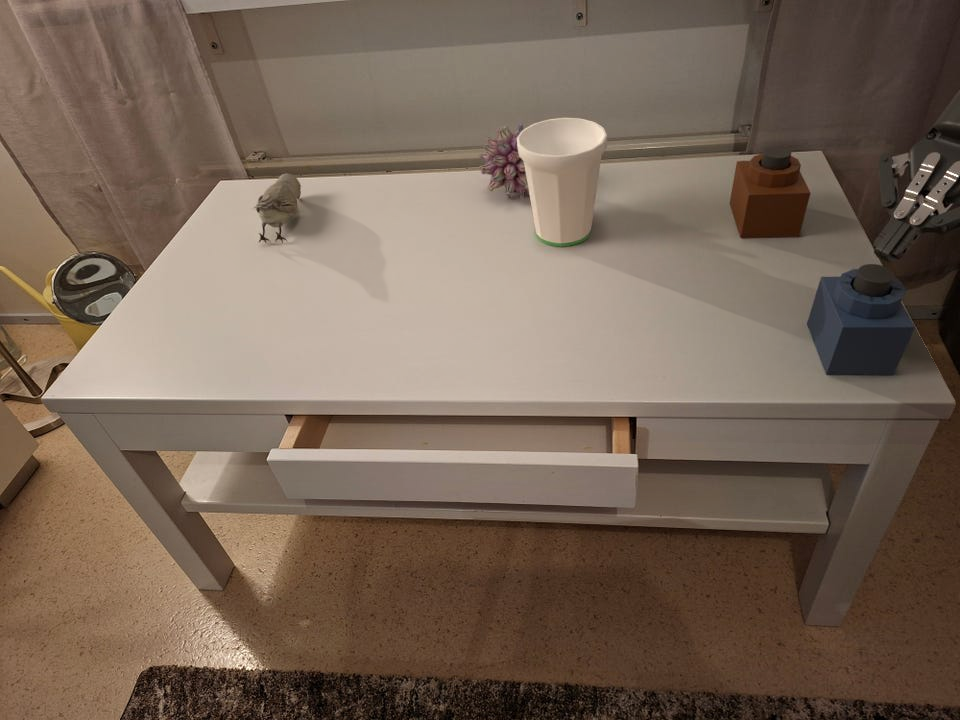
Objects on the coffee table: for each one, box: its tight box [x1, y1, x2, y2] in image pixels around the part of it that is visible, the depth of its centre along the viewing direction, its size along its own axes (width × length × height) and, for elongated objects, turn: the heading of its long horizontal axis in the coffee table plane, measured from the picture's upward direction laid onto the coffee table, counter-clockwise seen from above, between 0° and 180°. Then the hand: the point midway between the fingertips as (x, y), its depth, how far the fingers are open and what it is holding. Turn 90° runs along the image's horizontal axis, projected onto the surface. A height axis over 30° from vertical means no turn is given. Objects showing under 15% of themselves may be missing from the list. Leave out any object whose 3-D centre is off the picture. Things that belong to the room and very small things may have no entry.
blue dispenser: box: [806, 268, 916, 376], centre depth 73 cm, size 9×7×9 cm
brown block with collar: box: [729, 152, 811, 239], centre depth 94 cm, size 10×8×9 cm
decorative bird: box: [252, 172, 302, 245], centre depth 109 cm, size 5×16×7 cm, turn 177°
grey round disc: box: [761, 145, 792, 170], centre depth 91 cm, size 4×4×2 cm
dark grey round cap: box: [853, 263, 895, 297], centre depth 70 cm, size 3×3×2 cm
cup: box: [517, 117, 608, 247], centre depth 95 cm, size 12×12×15 cm
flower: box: [477, 122, 530, 199], centre depth 107 cm, size 12×12×12 cm
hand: (882, 257), depth 67 cm, fingers closed
